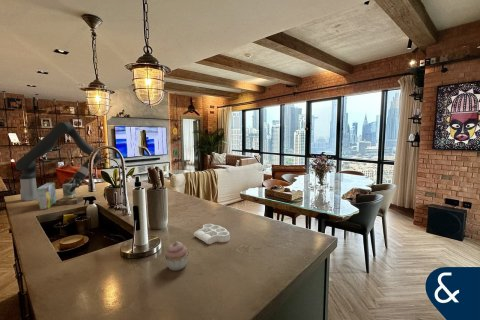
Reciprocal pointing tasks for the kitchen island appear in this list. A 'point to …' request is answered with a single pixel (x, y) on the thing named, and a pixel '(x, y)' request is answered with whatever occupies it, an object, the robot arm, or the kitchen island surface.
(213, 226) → the white paint palette
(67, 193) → the pallet crate
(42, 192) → the snack box
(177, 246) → the cupcake
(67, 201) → the dock
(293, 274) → the kitchen island surface
